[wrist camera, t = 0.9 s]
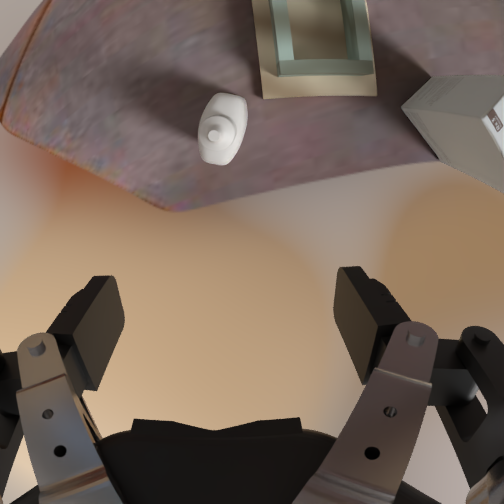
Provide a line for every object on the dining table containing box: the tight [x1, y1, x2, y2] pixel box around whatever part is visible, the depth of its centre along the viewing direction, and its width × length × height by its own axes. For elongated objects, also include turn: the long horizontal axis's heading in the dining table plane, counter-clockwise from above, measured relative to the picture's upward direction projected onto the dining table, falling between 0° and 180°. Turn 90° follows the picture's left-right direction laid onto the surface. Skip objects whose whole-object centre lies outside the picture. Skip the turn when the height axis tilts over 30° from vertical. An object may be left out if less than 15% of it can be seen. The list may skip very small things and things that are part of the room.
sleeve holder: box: [252, 0, 377, 99], centre depth 23 cm, size 14×11×4 cm
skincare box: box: [401, 75, 504, 193], centre depth 21 cm, size 8×6×15 cm
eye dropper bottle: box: [198, 93, 248, 165], centre depth 24 cm, size 4×6×12 cm
